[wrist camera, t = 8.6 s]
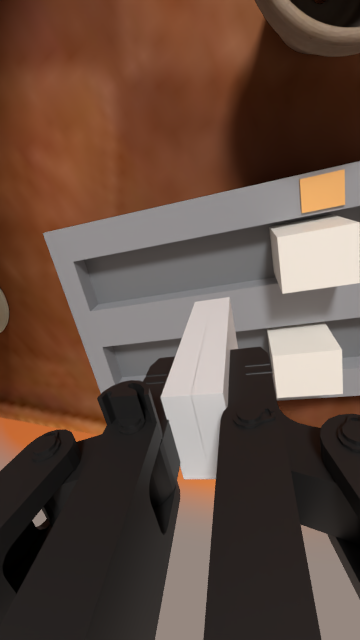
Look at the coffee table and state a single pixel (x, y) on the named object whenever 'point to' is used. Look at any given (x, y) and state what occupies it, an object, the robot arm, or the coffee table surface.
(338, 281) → the tab
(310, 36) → the flower pot
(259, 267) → the switch bank
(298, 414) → the coffee table surface
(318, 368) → the tab
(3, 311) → the can
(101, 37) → the coffee table surface
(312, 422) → the coffee table surface
